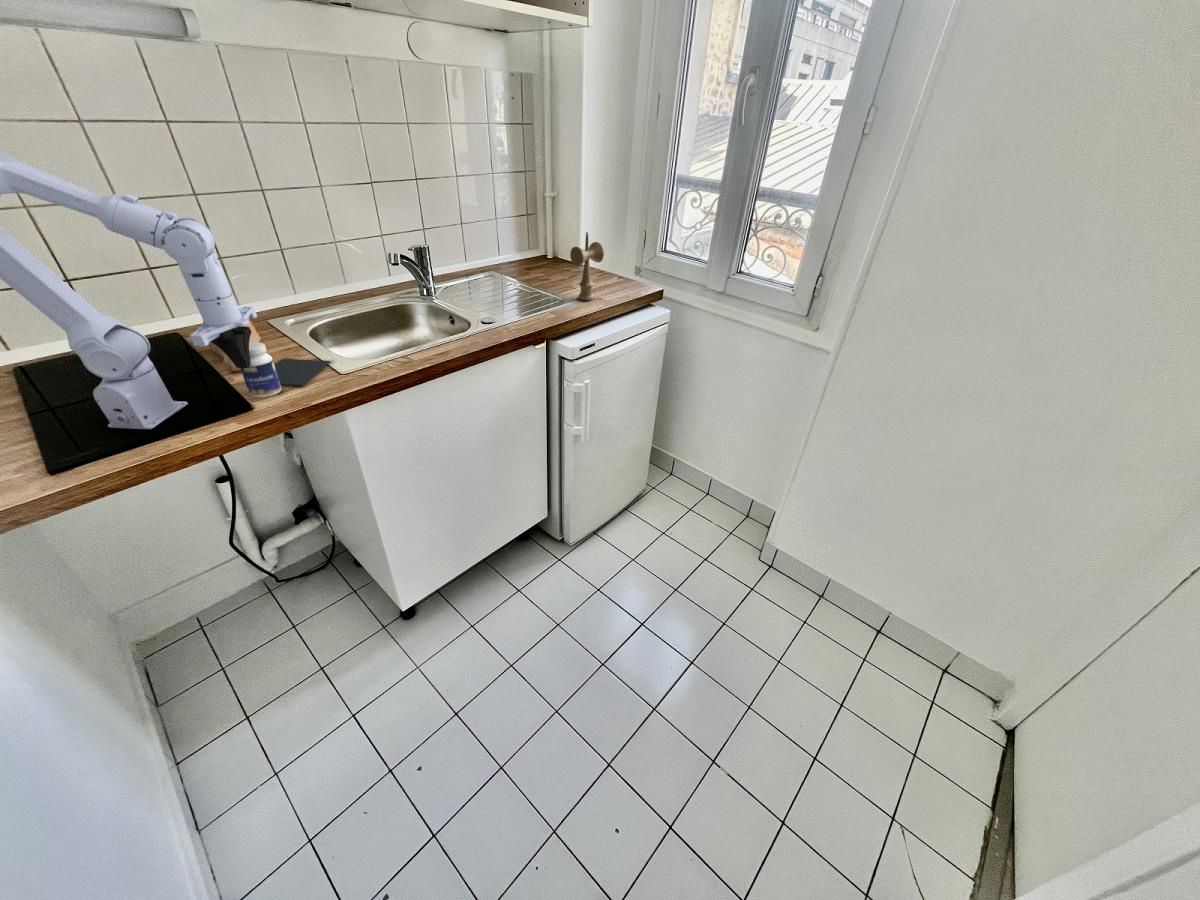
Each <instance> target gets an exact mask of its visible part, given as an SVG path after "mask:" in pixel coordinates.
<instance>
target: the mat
mask: <svg viewBox="0 0 1200 900" xmlns="http://www.w3.org/2000/svg"><path fill="white" fill-rule="evenodd" d="M330 363H331V361H330V360H319V359H318V360H317V359H297V358H295V359H293V358H292V359H291V358H281V359H280V360H279V361H277V362H276V363H274V365H275V369H276V372H277V375H278V378H279V381H280V384H281V387H299V388H300V387H301V388H302V387H304V386H305V385H306V384H308V382H310V381H311V380H312V379H313V378H314V377H315V376H317V374H318V373H320V372H321V371H322V370H323V369H324V368H326V367H327V366H328V365H329V364H330Z"/></svg>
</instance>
